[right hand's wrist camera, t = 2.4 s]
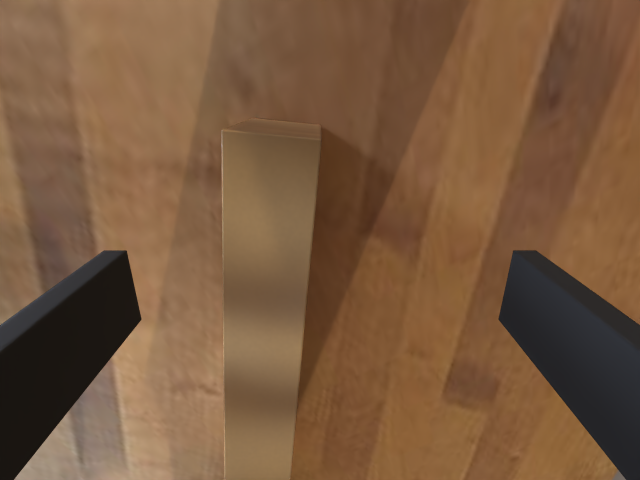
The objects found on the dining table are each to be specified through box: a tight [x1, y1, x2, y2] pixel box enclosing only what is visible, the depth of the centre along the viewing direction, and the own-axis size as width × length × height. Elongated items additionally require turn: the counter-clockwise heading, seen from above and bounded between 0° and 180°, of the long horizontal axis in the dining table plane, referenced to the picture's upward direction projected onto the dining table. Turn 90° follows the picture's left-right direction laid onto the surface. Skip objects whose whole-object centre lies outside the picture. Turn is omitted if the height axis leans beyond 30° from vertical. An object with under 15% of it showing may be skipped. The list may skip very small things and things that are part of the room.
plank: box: [221, 118, 322, 480], centre depth 30 cm, size 53×5×8 cm, turn 175°
